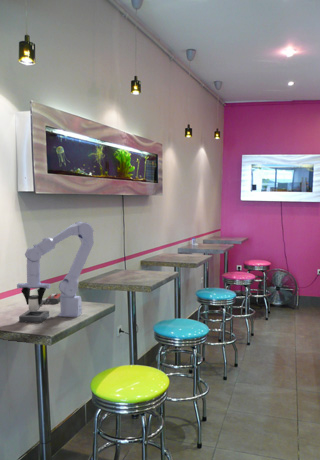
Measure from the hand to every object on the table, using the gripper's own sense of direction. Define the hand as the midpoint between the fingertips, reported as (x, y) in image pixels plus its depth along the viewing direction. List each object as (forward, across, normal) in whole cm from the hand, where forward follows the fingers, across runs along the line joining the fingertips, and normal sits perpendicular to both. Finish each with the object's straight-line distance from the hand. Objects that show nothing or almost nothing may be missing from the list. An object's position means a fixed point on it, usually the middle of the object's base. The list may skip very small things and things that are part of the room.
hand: (34, 304), depth 189 cm
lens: (+2, 0, 0) cm, 2 cm away
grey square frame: (+7, 0, 0) cm, 7 cm away
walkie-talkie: (+7, +1, -29) cm, 30 cm away
